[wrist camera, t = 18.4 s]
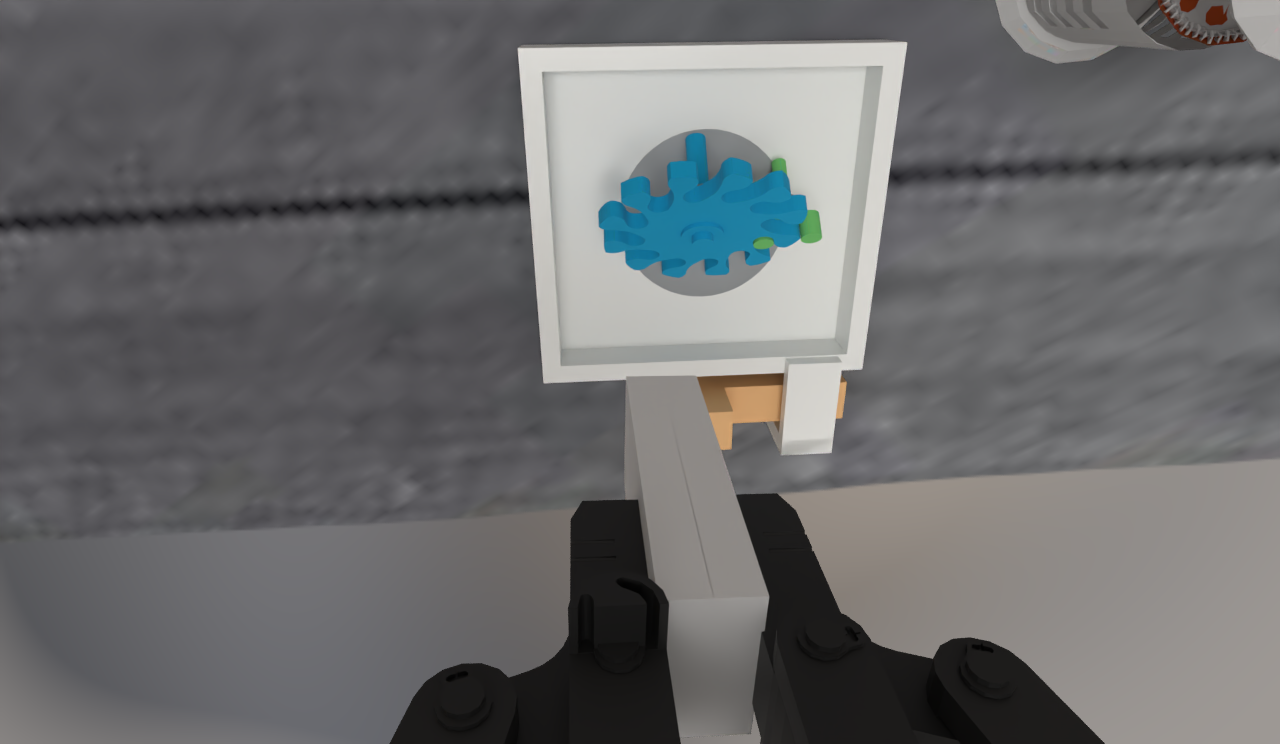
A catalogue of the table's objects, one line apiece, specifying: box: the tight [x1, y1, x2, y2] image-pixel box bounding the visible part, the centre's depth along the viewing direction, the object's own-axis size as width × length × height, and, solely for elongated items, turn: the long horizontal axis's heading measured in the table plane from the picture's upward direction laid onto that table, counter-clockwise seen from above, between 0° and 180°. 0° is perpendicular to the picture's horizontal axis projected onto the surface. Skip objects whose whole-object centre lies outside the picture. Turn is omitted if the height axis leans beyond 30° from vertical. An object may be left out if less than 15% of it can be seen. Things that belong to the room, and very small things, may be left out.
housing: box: [518, 39, 907, 455], centre depth 40 cm, size 18×22×4 cm
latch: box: [697, 373, 847, 450], centre depth 43 cm, size 9×2×5 cm, turn 90°
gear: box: [598, 133, 822, 278], centre depth 37 cm, size 11×6×10 cm
